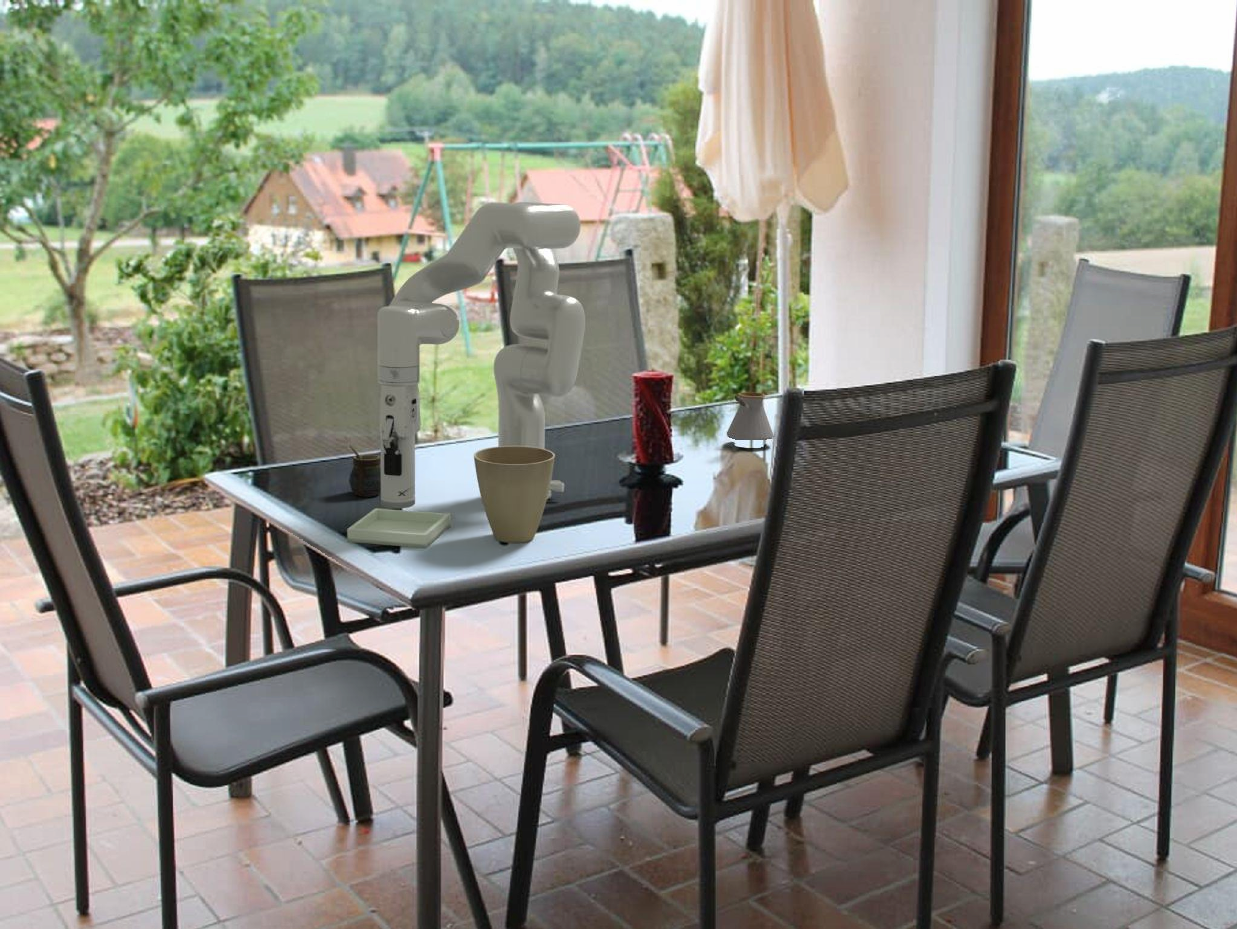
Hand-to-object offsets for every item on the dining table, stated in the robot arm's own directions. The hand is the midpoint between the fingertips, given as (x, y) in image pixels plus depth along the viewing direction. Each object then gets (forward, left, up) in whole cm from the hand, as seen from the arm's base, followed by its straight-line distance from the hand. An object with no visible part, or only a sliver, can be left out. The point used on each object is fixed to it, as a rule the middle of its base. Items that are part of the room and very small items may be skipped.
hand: (399, 469), depth 257 cm
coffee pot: (-56, -92, -13) cm, 108 cm away
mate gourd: (+16, -26, -13) cm, 33 cm away
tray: (0, 0, -12) cm, 12 cm away
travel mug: (0, 0, -7) cm, 7 cm away
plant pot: (-21, -3, -13) cm, 25 cm away
